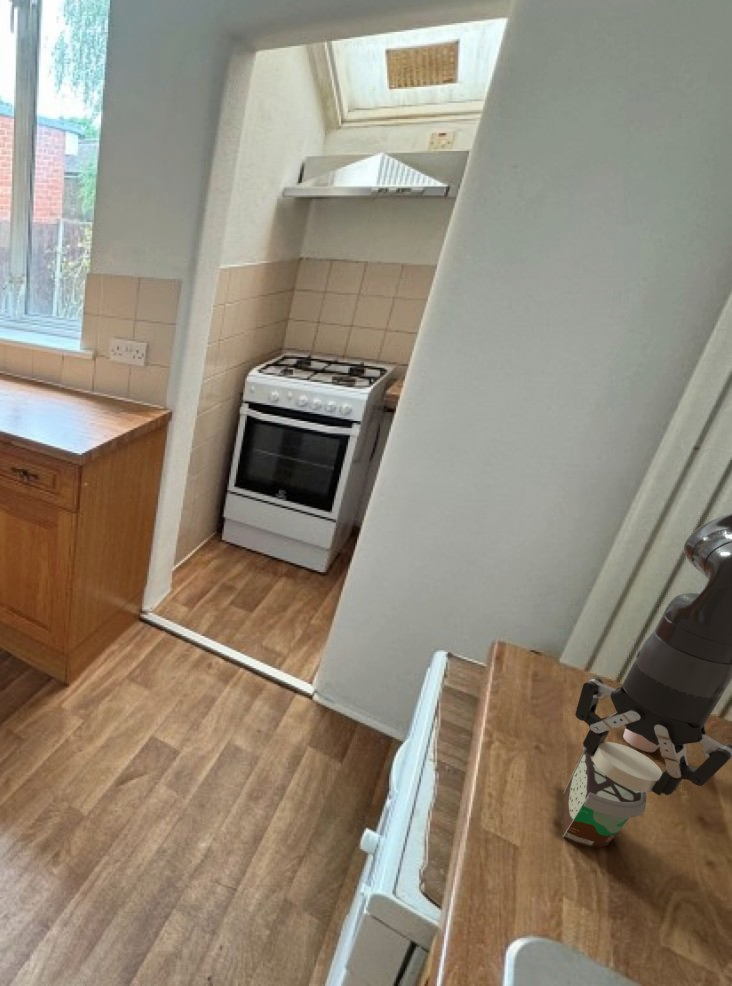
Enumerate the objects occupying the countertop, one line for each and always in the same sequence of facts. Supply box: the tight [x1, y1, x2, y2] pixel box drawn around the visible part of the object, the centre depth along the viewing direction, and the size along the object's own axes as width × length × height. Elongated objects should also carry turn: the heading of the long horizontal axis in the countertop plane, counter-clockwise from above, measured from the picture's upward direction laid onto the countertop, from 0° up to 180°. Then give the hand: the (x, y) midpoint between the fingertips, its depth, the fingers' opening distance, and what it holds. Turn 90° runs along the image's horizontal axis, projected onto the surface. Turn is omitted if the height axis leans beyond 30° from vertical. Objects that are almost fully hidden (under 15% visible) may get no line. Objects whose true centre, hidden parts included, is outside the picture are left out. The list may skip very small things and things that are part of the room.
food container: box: [562, 746, 648, 848], centre depth 83 cm, size 12×6×10 cm, turn 137°
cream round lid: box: [592, 741, 663, 793], centre depth 81 cm, size 6×6×3 cm
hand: (623, 770), depth 81 cm, fingers closed on cream round lid, 6 cm apart
